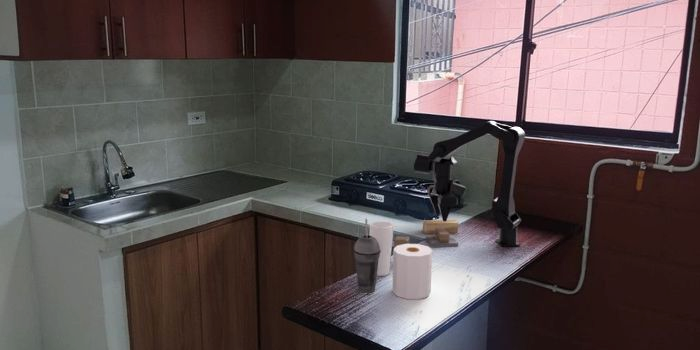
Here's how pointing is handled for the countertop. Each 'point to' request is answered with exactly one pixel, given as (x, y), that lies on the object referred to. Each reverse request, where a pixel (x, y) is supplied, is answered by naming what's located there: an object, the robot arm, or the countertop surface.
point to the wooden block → (401, 240)
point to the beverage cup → (366, 262)
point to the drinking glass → (383, 244)
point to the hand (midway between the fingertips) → (441, 217)
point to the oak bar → (440, 225)
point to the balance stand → (441, 238)
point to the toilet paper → (412, 271)
